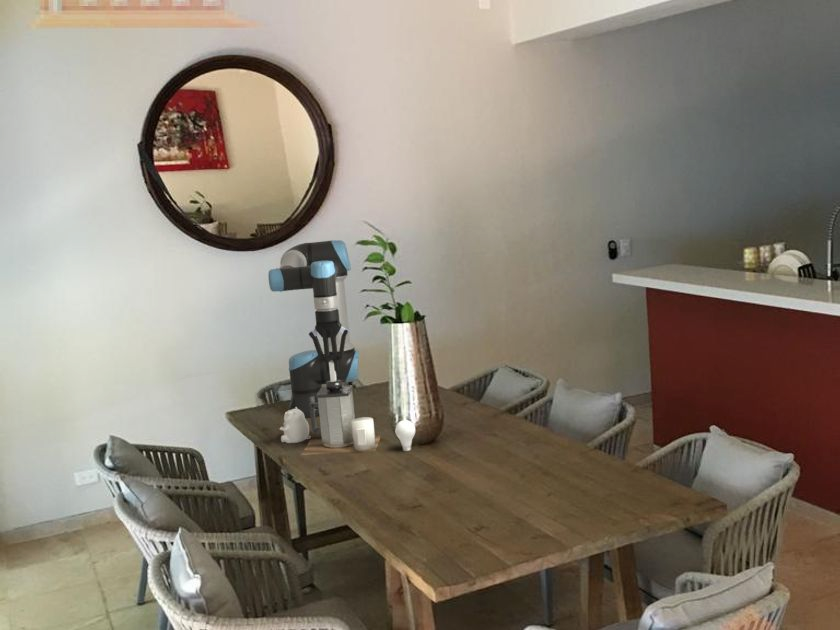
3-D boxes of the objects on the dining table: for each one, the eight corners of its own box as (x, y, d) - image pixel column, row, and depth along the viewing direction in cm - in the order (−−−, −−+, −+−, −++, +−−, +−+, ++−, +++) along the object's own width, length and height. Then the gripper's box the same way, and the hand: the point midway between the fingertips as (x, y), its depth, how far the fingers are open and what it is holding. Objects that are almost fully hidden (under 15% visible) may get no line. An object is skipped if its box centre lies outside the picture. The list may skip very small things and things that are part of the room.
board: (310, 444, 293) (310, 439, 293) (381, 439, 292) (380, 435, 291) (301, 459, 277) (301, 454, 277) (376, 455, 276) (375, 450, 276)
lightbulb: (393, 456, 273) (390, 422, 271) (403, 450, 278) (400, 417, 277) (411, 458, 270) (408, 423, 268) (421, 451, 275) (418, 418, 274)
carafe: (316, 439, 292) (311, 387, 289) (358, 437, 291) (353, 385, 288) (311, 449, 282) (305, 396, 279) (353, 447, 281) (348, 393, 278)
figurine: (314, 438, 300) (311, 404, 298) (308, 447, 290) (304, 412, 288) (286, 439, 301) (282, 405, 299) (279, 448, 291) (275, 413, 289)
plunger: (328, 431, 290) (323, 379, 287) (353, 429, 290) (348, 377, 287) (324, 438, 282) (318, 385, 279) (349, 437, 281) (344, 383, 279)
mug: (355, 444, 283) (352, 417, 282) (376, 443, 283) (374, 416, 282) (351, 452, 275) (349, 425, 274) (373, 451, 275) (371, 424, 273)
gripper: (304, 312, 276) (311, 384, 280) (345, 309, 275) (351, 382, 279) (308, 308, 283) (315, 379, 287) (348, 306, 283) (355, 376, 286)
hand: (333, 380), depth 283 cm, fingers closed
